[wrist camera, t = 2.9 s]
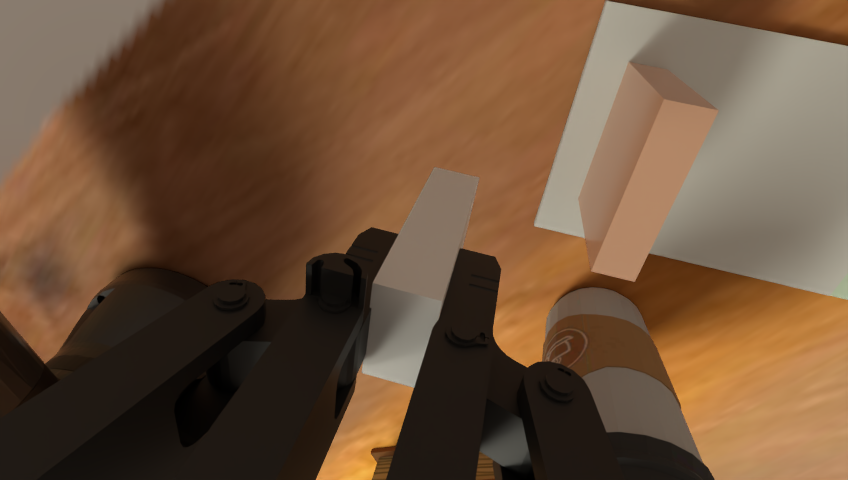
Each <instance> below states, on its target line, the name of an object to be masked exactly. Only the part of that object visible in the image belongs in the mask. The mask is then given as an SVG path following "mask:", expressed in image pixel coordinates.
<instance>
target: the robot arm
mask: <svg viewBox="0 0 848 480" xmlns="http://www.w3.org/2000/svg"><path fill="white" fill-rule="evenodd" d="M478 182H479V177H475V176H471V175H466V174H462V173H458V172H453V171H449V170H445V169H441V168H436V167H434V169H433V171H432V172H431V174H430V176H429V178H428V180H427V182H426V184H425V186H424V187H423V189H422V191H421V193H420V195H419V197H418V199H417V201H416V202H415V204H414V206H413V208H412V210H411V212H410V214H409V216H408V217H407V219H406V221H405V223H404V225H403V227H402V229H401V231H400V232H399V234H396V233H392V232H388V231H384V230H380V229H376V228H370V229H368V230H366V231H364V232H362V233H361V234H359V235H358V236H357V238H356V239H355V241H354V242H353V244H352V246H351V247H350V248H349V250H348V251H347V253H346V254H340V253H329V254H322V255H319V256H317V257H314V258H312V259H311V260H310V261H309V262H307V263H306V294H305V296H304V297H303V298H302V299H297V300H267V299H265V294H264V292H263V290H262V288H260V287H259V286H258V285H256V284H255V283H252V282H249V281H246V280H226V281H221V282H218V283H215V284H213V285H211V286H209V287H207V286H205V285H203V284H202V283H200V282H198V281H196V280H194V279H192V278H190V277H187V276H185V275H182V274H179V273H176V272H173V271H169V270H164V269H156V268H141V269H135V270H131V271H128V272H126V273H124V274H122V275H120V276H119V277H118V278H116V279H115V280H114V281H112V282H111V283H110V284H108V285H107V286H106V287H104V288H103V289H102V290H100V291H99V292H98V293H97V295H96V296H95V297H94V298H93V299H92V301H91V302H90V304H89V306H88V308H87V310H86V311H85V312H84V314H83V315H82V316H81V318H80V319H79V321H78V322H77V324H76V325H75V327H74V328H73V330H72V332H71V333H70V335H69V336H68V338H67V339H66V341H65V342H64V344H63V345H62V347H61V348H60V350H59V352H58V353H57V354H56V355H55V356H54V357H53V358H51V359H50V360H49V361H48V362H47V363H45V364H44V362H43V361H42V360H41V358H40V357H39V356H38V355H37V354H36V353H35V351H34V350H33V349H32V348H31V347H30V346H29V344H28V343H27V342H26V341H25V340H24V339H23V337H22V336H21V335H20V334H19V333H18V332H17V330H16V329H15V328H14V327H13V326H12V325H11V323H10V322H9V321H8V320H7V319H6V318H5V316H4V315H3V314H2V313H1V312H0V480H316V477H317V475H318V473H319V471H320V468H321V466H322V464H323V461H324V459H325V457H326V455H327V452H328V450H329V448H330V446H331V443H332V441H333V439H334V436H335V434H336V432H337V430H338V427H339V425H340V423H341V420H342V418H343V416H344V414H345V411H346V409H347V407H348V404H349V402H350V400H351V398H352V395H353V393H354V390H355V384H356V377H357V373H358V371H359V368H360V366H361V364H362V362H363V367H362V373H364V374H368V375H371V376H375V377H378V378H382V379H385V380H389V381H392V382H396V383H399V384H403V385H406V386H410V387H413V388H414V390H413V393H412V396H411V400H410V403H409V406H408V409H407V413H406V416H405V419H404V422H403V426H402V429H401V432H400V435H399V439H398V442H397V445H396V448H395V451H394V455H393V458H392V461H391V464H390V468H389V471H388V474H387V477H386V480H476V473H477V466H478V459H479V451H480V452H482V453H483V454H485V455H486V456H488V457H489V458H491V459H492V460H493V471H494V477H495V480H625V478H624V476H623V473H622V470H621V468H620V465H619V463H618V460H617V458H616V455H615V452H614V450H613V447H612V445H611V442H610V440H609V437H608V435H607V432H606V429H605V427H604V424H603V422H602V419H601V417H600V414H599V412H598V409H597V406H596V404H595V401H594V399H593V396H592V394H591V391H590V389H589V387H588V386H587V384H586V383H585V381H584V379H582V378H581V377H580V376H579V375H578V374H577V373H576V372H575V371H573V370H572V369H570V368H568V367H566V366H564V365H562V364H559V363H554V362H550V361H545V362H537V363H535V364H533V365H531V366H529V367H528V368H527V367H525V366H523V365H522V364H520V363H518V362H516V361H514V360H513V359H511V358H510V357H508V356H507V355H506V354H505V353H504V352H503V351H502V350H501V349H500V348H499V347H498V345H497V344H496V342H495V340H494V337H493V324H494V317H495V310H496V302H497V295H498V288H499V281H500V274H501V268H500V266H499V264H498V262H497V260H496V258H495V257H493V256H489V255H485V254H481V253H477V252H473V251H469V250H465V249H463V245H464V241H465V236H466V232H467V228H468V224H469V219H470V215H471V211H472V207H473V203H474V198H475V194H476V190H477V186H478Z"/></svg>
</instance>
